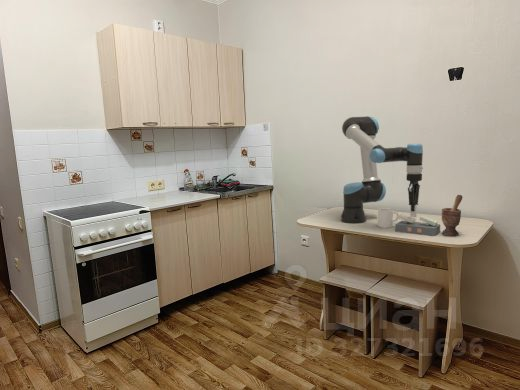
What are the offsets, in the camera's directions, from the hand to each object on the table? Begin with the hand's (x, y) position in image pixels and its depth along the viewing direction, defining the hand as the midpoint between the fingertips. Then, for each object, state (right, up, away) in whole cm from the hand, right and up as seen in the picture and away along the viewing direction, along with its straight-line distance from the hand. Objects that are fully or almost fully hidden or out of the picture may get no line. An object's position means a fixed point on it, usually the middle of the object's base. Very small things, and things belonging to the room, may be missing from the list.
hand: (413, 216), depth 196 cm
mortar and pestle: (+16, -8, -8) cm, 20 cm away
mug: (-9, -7, +13) cm, 17 cm away
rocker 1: (-3, -1, +2) cm, 3 cm away
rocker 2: (+6, -2, -5) cm, 8 cm away
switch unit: (+2, -8, 0) cm, 8 cm away
